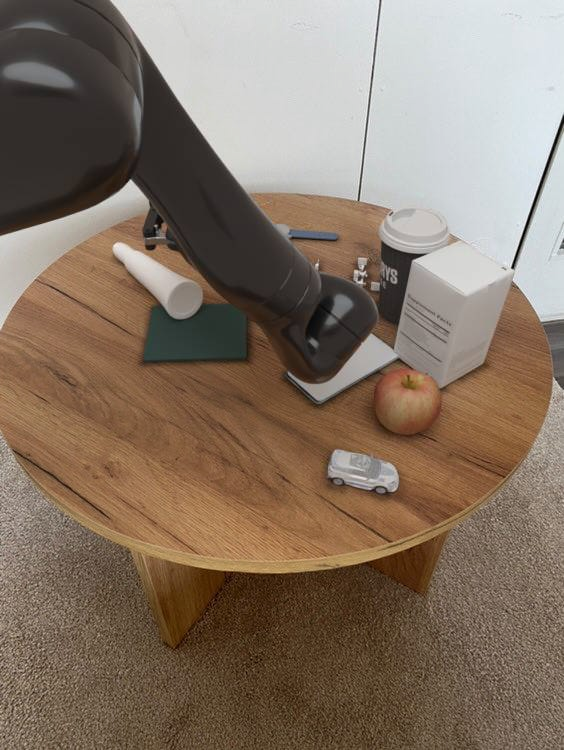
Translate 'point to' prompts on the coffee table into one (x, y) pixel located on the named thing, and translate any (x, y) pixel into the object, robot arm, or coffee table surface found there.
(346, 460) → the toy car
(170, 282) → the cosmetic bottle
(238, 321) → the mat
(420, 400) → the apple
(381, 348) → the smartphone
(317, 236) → the wristwatch
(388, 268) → the coffee cup
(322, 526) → the coffee table surface
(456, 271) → the white product box
